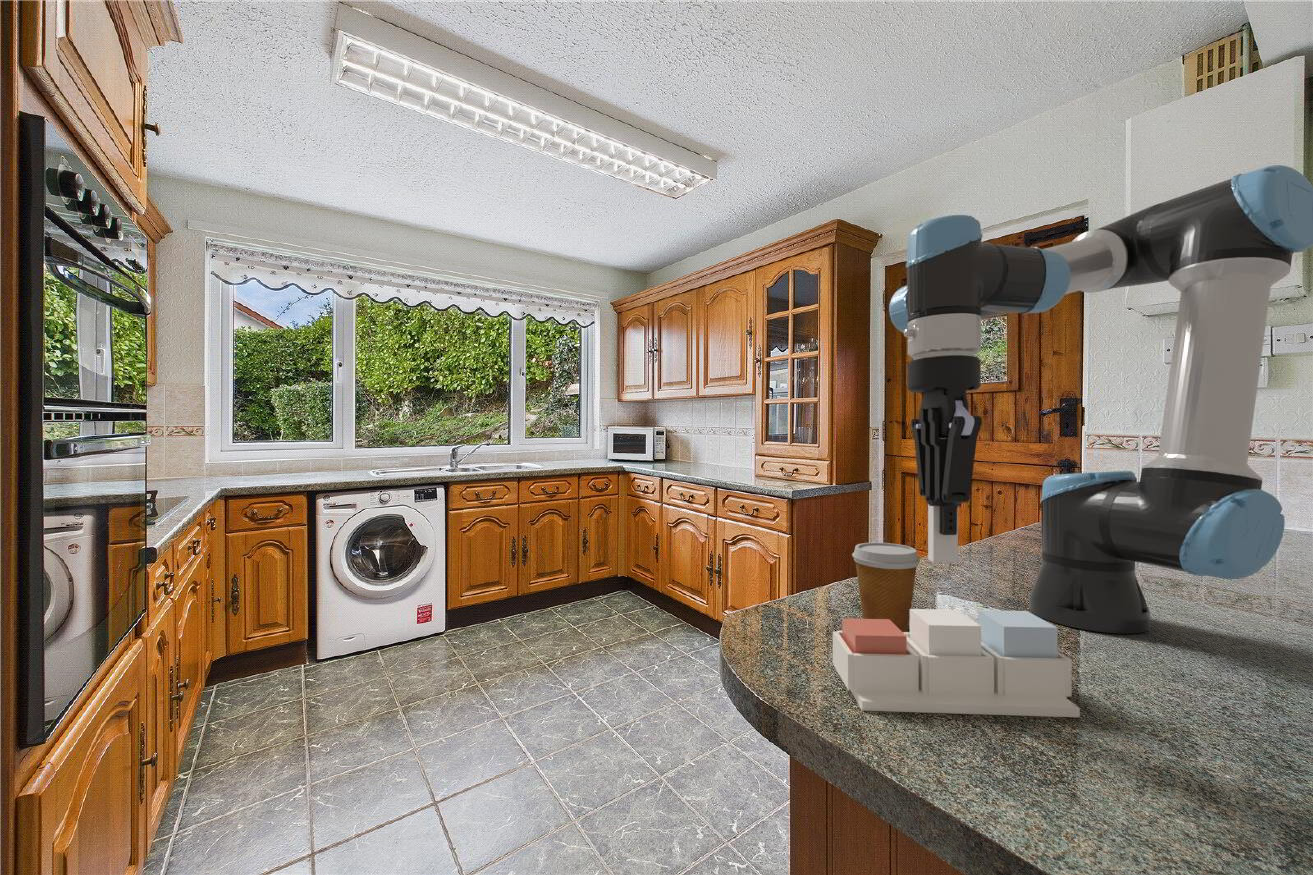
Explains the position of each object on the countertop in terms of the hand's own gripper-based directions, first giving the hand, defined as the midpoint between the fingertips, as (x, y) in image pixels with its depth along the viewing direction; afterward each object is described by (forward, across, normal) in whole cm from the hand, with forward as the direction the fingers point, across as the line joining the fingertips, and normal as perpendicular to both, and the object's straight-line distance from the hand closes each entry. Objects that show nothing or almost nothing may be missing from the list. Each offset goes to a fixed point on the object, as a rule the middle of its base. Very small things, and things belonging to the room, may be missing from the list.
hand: (942, 561), depth 64 cm
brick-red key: (+12, 0, -8) cm, 14 cm away
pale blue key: (+11, 0, +8) cm, 13 cm away
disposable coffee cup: (+15, -20, 0) cm, 25 cm away
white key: (+11, 0, 0) cm, 11 cm away
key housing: (+15, 0, 0) cm, 15 cm away
